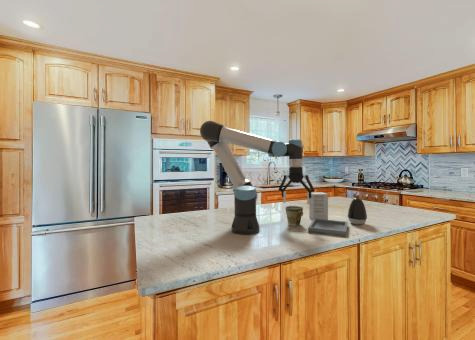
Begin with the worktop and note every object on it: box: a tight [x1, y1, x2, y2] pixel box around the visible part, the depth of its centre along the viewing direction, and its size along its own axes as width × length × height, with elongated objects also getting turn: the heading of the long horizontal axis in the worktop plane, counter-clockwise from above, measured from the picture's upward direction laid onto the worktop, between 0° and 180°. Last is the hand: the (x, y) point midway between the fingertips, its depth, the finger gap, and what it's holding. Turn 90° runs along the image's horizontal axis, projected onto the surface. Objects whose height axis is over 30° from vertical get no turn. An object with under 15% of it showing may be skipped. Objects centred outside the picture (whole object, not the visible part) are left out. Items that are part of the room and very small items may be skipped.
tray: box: [307, 219, 348, 237], centre depth 132 cm, size 18×21×2 cm
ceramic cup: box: [285, 205, 304, 227], centre depth 140 cm, size 13×10×10 cm
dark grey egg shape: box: [347, 197, 368, 226], centre depth 142 cm, size 10×10×15 cm
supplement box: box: [308, 191, 329, 221], centre depth 153 cm, size 10×9×17 cm
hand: (296, 203), depth 140 cm, fingers open, 13 cm apart
